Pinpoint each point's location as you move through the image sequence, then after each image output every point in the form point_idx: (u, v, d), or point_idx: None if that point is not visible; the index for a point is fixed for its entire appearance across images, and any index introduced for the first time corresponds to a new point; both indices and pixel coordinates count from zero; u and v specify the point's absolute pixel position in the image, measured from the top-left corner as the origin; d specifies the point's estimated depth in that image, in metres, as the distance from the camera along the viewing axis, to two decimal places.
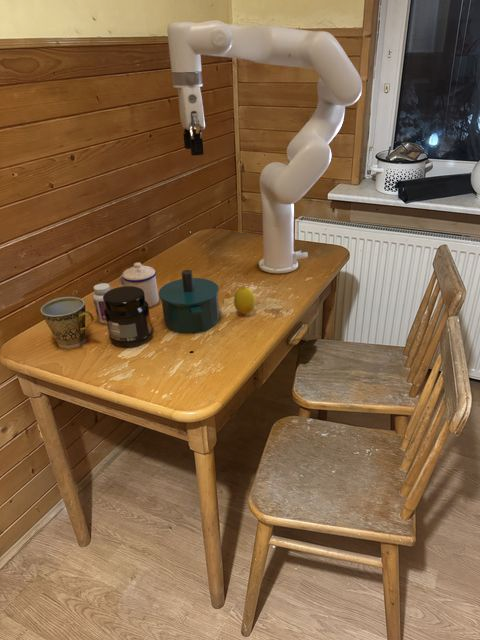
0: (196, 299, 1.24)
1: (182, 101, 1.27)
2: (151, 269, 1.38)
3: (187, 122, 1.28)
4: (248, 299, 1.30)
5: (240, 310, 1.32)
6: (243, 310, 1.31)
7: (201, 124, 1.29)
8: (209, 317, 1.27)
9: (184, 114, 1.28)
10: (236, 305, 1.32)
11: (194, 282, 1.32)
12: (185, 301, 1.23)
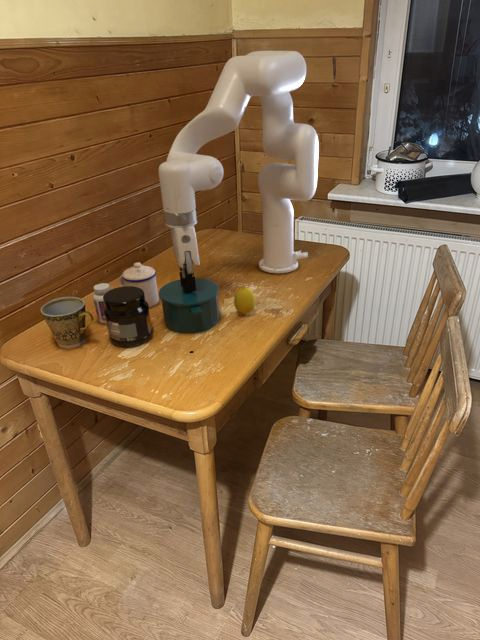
0: (196, 299, 1.24)
1: (175, 240, 1.18)
2: (151, 269, 1.38)
3: (180, 262, 1.19)
4: (248, 299, 1.30)
5: (240, 310, 1.32)
6: (243, 310, 1.31)
7: (195, 263, 1.20)
8: (209, 317, 1.27)
9: (177, 253, 1.19)
10: (236, 305, 1.32)
11: None
12: (185, 301, 1.23)
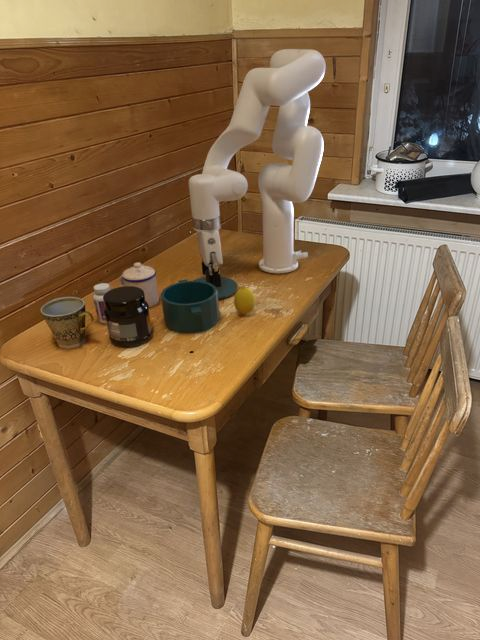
0: (218, 294, 1.43)
1: (202, 242, 1.37)
2: (151, 269, 1.38)
3: (206, 261, 1.38)
4: (248, 299, 1.30)
5: (240, 310, 1.32)
6: (243, 310, 1.31)
7: (219, 262, 1.39)
8: (209, 317, 1.27)
9: (203, 253, 1.38)
10: (236, 305, 1.32)
11: None
12: None
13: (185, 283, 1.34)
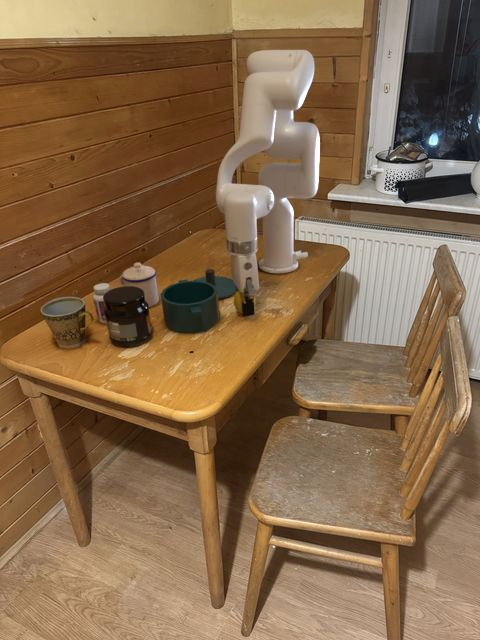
0: (218, 294, 1.43)
1: (237, 267, 1.24)
2: (151, 269, 1.38)
3: (241, 287, 1.25)
4: None
5: (240, 310, 1.32)
6: None
7: (255, 288, 1.26)
8: (209, 317, 1.27)
9: (238, 279, 1.25)
10: (236, 305, 1.32)
11: (215, 280, 1.51)
12: None
13: (185, 283, 1.34)
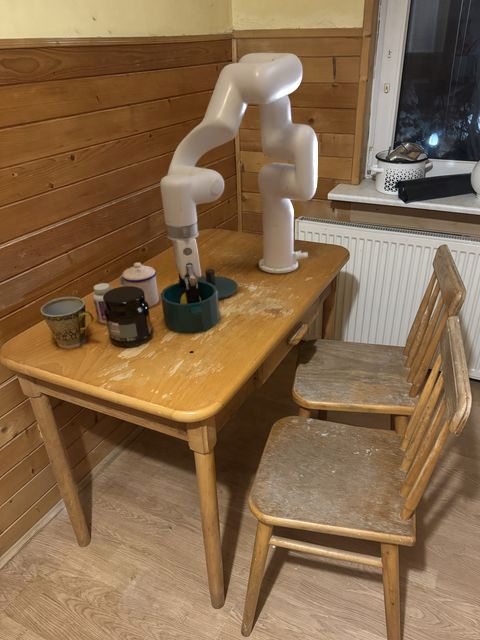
0: (218, 294, 1.43)
1: (177, 253, 1.20)
2: (151, 269, 1.38)
3: (182, 273, 1.21)
4: None
5: None
6: None
7: (197, 274, 1.22)
8: (209, 317, 1.27)
9: (179, 265, 1.21)
10: None
11: (215, 280, 1.51)
12: None
13: None
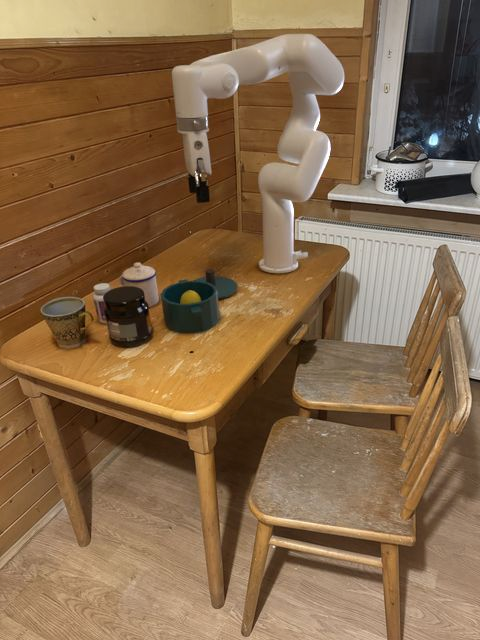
0: (218, 294, 1.43)
1: (187, 147, 1.20)
2: (151, 269, 1.38)
3: (192, 169, 1.21)
4: (193, 302, 1.28)
5: None
6: None
7: (207, 171, 1.22)
8: (209, 317, 1.27)
9: (189, 161, 1.21)
10: None
11: (215, 280, 1.51)
12: None
13: (185, 283, 1.34)
